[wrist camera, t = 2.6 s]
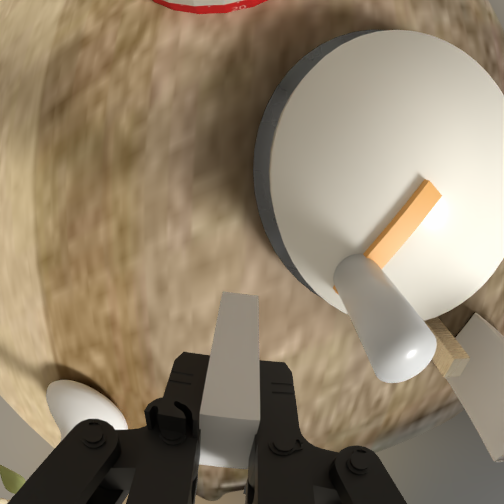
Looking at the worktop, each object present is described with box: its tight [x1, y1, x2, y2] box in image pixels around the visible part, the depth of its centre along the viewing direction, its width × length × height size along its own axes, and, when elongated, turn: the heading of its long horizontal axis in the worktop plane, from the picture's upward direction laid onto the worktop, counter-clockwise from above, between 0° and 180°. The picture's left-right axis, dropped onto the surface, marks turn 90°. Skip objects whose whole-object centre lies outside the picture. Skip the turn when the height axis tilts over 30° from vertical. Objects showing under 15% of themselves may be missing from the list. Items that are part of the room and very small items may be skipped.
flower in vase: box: [0, 380, 128, 504], centre depth 19 cm, size 13×11×25 cm
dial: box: [269, 30, 504, 383], centre depth 14 cm, size 20×20×11 cm
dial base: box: [253, 30, 470, 378], centre depth 19 cm, size 25×22×7 cm
